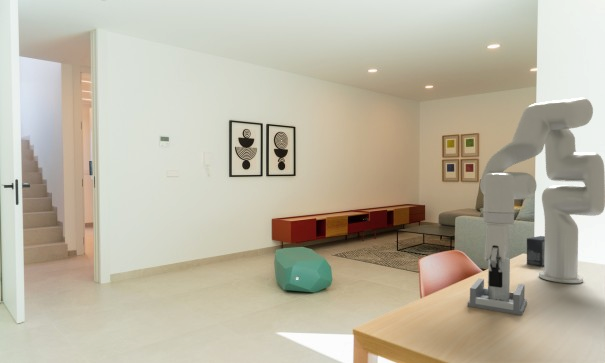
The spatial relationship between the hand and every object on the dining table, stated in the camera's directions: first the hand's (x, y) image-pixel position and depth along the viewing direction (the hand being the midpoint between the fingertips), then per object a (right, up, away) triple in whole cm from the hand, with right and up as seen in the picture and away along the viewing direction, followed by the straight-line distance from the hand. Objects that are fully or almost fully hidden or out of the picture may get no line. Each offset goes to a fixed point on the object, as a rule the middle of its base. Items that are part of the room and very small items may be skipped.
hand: (498, 282), depth 111 cm
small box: (+41, -5, +50) cm, 65 cm away
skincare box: (0, -5, 0) cm, 5 cm away
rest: (0, -6, 0) cm, 6 cm away
